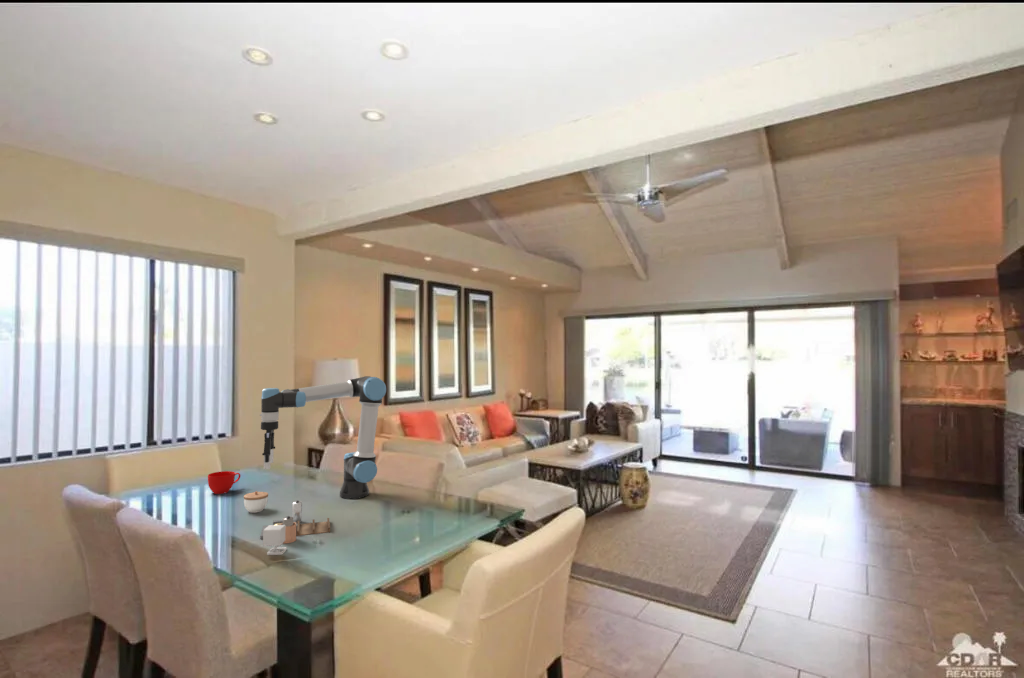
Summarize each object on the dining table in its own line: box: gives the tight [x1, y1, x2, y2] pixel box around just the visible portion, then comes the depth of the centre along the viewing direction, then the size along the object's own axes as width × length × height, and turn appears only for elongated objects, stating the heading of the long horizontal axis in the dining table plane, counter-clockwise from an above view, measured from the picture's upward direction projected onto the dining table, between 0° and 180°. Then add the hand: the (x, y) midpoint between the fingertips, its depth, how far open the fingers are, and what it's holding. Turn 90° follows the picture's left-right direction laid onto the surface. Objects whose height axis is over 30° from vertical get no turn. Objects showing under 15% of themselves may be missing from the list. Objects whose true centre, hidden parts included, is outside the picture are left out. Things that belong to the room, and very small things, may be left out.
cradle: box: [259, 519, 283, 540], centre depth 223 cm, size 13×15×3 cm
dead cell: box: [282, 515, 293, 527], centre depth 213 cm, size 4×4×10 cm
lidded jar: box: [243, 490, 269, 514], centre depth 252 cm, size 11×11×9 cm
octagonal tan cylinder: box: [280, 522, 297, 544], centre depth 213 cm, size 6×6×7 cm
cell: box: [291, 500, 303, 525], centre depth 237 cm, size 4×4×10 cm
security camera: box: [262, 524, 288, 556], centre depth 200 cm, size 6×7×10 cm
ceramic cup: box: [207, 470, 241, 495], centre depth 284 cm, size 13×17×10 cm
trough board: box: [296, 517, 331, 537], centre depth 227 cm, size 13×14×2 cm
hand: (268, 465), depth 246 cm, fingers open, 13 cm apart
